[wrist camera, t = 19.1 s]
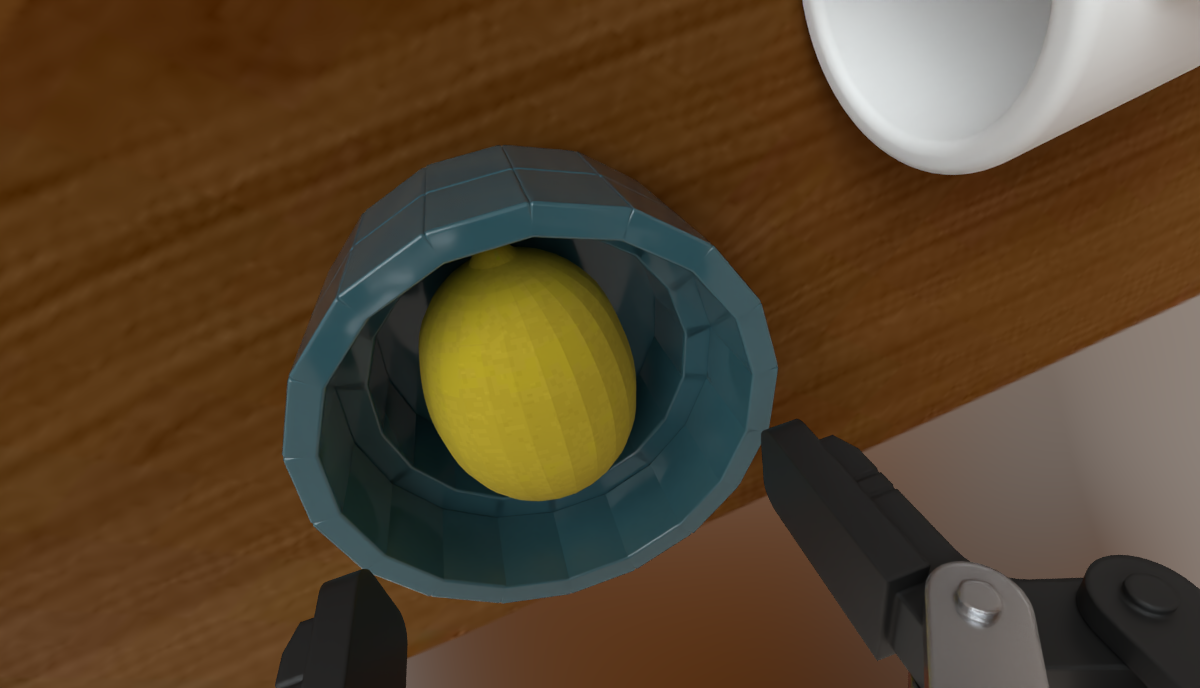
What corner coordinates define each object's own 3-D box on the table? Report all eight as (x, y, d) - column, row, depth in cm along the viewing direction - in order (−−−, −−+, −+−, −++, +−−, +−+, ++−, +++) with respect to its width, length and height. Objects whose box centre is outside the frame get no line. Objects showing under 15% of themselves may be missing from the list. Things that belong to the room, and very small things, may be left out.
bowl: (245, 208, 15) (148, 313, 10) (662, 91, 16) (769, 130, 11) (414, 499, 21) (409, 654, 16) (705, 400, 22) (784, 516, 17)
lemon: (606, 404, 20) (554, 185, 16) (691, 502, 16) (648, 233, 12) (459, 470, 19) (360, 249, 15) (506, 600, 14) (382, 332, 10)
